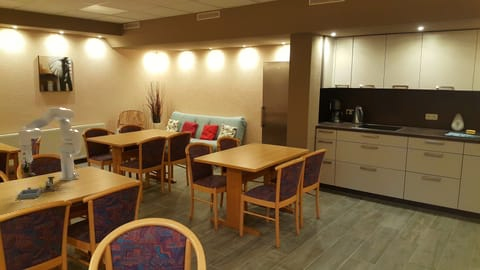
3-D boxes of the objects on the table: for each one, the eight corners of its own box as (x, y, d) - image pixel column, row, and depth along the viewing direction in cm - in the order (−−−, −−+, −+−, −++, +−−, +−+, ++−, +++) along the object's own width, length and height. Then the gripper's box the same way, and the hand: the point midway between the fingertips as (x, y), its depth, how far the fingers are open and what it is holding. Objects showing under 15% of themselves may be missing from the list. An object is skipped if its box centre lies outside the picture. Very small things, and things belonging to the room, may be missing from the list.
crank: (51, 187, 269) (51, 180, 268) (44, 188, 267) (44, 181, 266) (55, 182, 281) (54, 176, 280) (48, 183, 279) (48, 176, 279)
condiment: (20, 175, 254) (18, 159, 252) (32, 173, 260) (31, 157, 258) (23, 177, 249) (22, 161, 247) (36, 175, 256) (35, 159, 254)
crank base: (58, 188, 274) (57, 184, 274) (56, 190, 269) (56, 187, 268) (29, 190, 269) (28, 186, 268) (26, 192, 263) (26, 189, 262)
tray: (41, 192, 264) (41, 188, 264) (37, 197, 253) (37, 193, 253) (22, 193, 261) (22, 190, 260) (17, 199, 250) (17, 195, 249)
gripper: (28, 149, 244) (30, 174, 247) (34, 144, 260) (36, 168, 263) (15, 149, 242) (18, 174, 245) (23, 145, 258) (25, 168, 261)
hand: (27, 171), depth 254 cm, fingers closed on condiment, 6 cm apart
